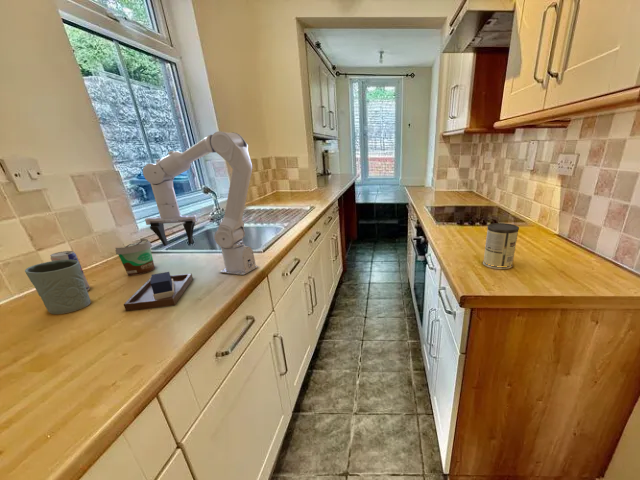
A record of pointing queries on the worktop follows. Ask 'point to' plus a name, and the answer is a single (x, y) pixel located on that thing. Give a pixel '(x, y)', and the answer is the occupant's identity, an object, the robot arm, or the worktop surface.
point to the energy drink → (68, 256)
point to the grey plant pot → (60, 285)
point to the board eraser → (162, 285)
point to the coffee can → (500, 245)
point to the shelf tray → (146, 299)
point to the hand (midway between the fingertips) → (178, 244)
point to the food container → (136, 257)
